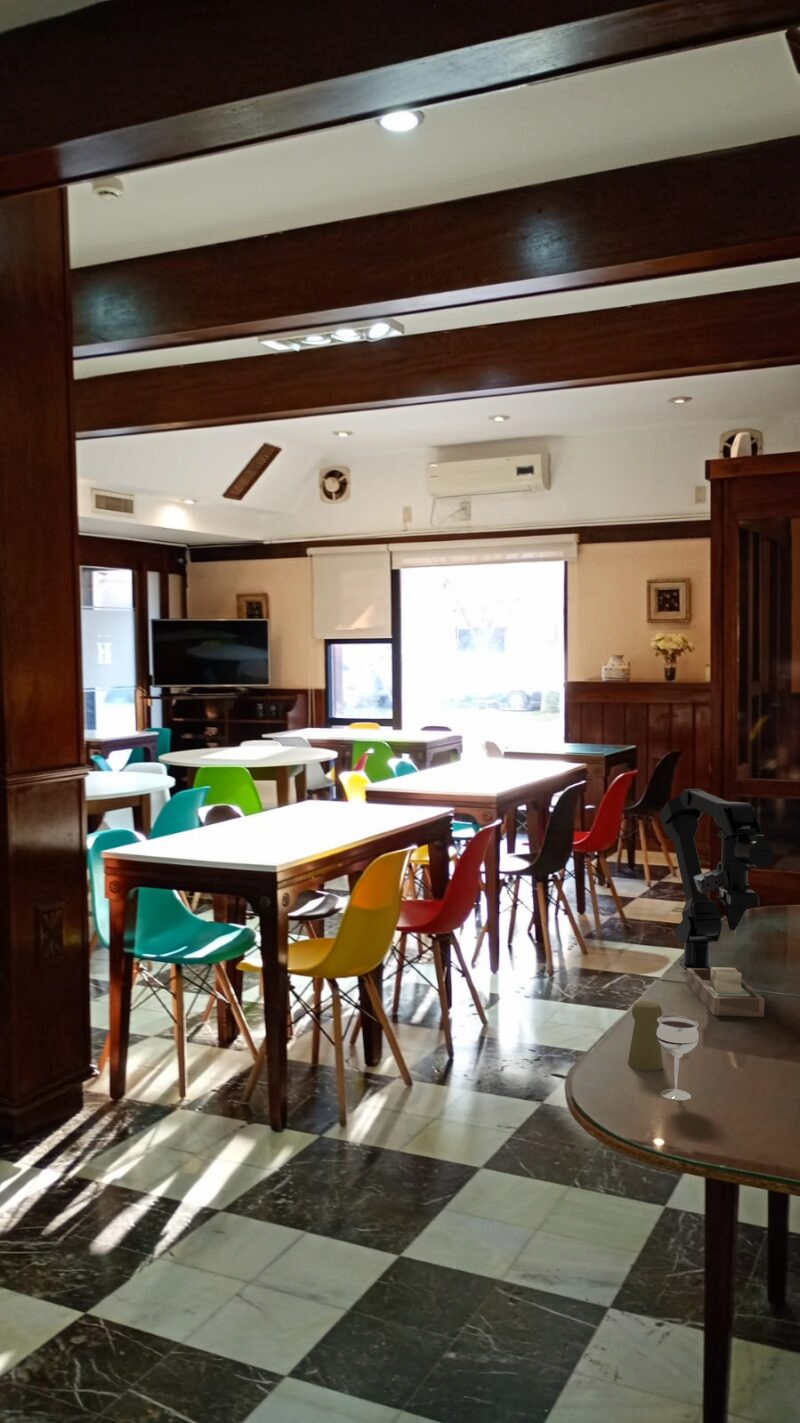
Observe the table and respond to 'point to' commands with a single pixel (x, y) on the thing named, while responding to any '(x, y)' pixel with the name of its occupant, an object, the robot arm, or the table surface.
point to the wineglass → (677, 1045)
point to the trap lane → (724, 996)
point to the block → (725, 980)
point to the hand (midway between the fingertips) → (732, 929)
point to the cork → (645, 1037)
